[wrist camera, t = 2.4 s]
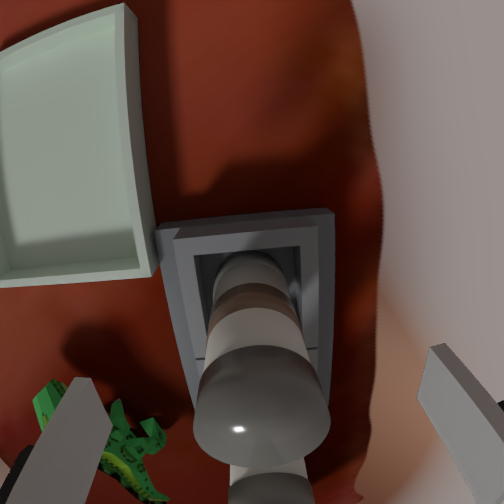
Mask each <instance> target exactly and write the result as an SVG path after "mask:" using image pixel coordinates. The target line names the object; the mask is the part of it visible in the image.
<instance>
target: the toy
mask: <svg viewBox="0 0 504 504" xmlns="http://www.w3.org/2000/svg"><path fill="white" fill-rule="evenodd" d="M67 389H68V388H67V387H66V385H65V384H64V383H62V382H58V381H55V379H54V378H53V379H52V380H51V381H50V382H49V383H48V384H47V385H46V386H45V387H44V388H43V389H42V390H41V391H40V392H39V393H38V394H37V395H36V396H35V398H34V399H33V404H34V407H35V411H36V414H37V418H38V421H39V424H40V427H41V430H42V432H43V430H44V428H45V427H46V425H47V423H48V421H49V420H50V418H51V416H52V414H53V413H54V411H55V409H56V408H57V406H58V404H59V403H60V401H61V399H62V397H63V396H64V394H65V393H66V391H67ZM110 421H111V422H112V423H113V424H112V425H113V427H112V430H111V432H110V435H109V437H108V440H107V443H106V445H105V448H104V451H103V453H102V456H101V459H100V461H99V464H98V467H97V469H99V470H101V471H102V472H104V473H106V474H108V475H109V476H111V477H113V478H115V479H116V480H117V481H118V482H119V483H120V484H121V485H122V486H123V487H124V488H125V489H126V490H127V491H128V492H130V493H131V494H133V493H134V494H133V496H134V497H136V498H137V499H139V500H140V501H142V502H143V503H145V504H149V501H150V503H151V504H166V501H168V500H171V499H169V498H168V497H167V496H165V495H163V494H161V493H159V492H157V491H156V490H155V488H154V486H153V484H152V482H151V480H150V478H149V476H148V474H147V471H146V469H145V467H144V464H143V462H142V457H143V456H144V455H145V454H146V453H149V454H155V453H157V452H158V451H159V450H160V449H161V448H163V447H164V446H165V443H166V434H165V433H164V432H163V430H162V429H161V427H160V426H159V425H158V423H157V422H156V420H155V419H154V418H153V417H152V418H149V419H147V420H144V421H141V422H139V423H140V424H141V426H142V427H143V428H144V430H145V431H146V433H147V434H148V435H149V437H150V438H145V437H142V438H137V437H136V436H135V435H134V434H133V433H132V431H130V426H129V425H128V422H127V420H126V418H125V414H124V410H123V406H122V401H121V400H120V399H117V400H116V401H115V402H114V403H112V406H111V412H110ZM134 491H135V492H134Z"/></svg>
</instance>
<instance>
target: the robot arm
mask: <svg viewBox="0 0 504 504" xmlns="http://www.w3.org/2000/svg"><path fill="white" fill-rule="evenodd" d="M417 400H418V401H419V403H420V404H421V406H422V408H423V409H424V411H425V413H426V414H427V416H428V417H429V419H430V421H431V423H432V424H433V426H434V428H435V429H436V431H437V433H438V434H439V436H440V438H441V439H442V441H443V442H444V445H445V446H446V448H447V450H448V451H449V453H450V455H451V457H452V458H453V460H454V462H455V464H456V466H457V467H458V469H459V471H460V473H461V475H462V476H463V478H464V480H465V482H466V484H467V486H468V487H469V489H470V491H471V493H472V495H473V497H474V499H475V501H476V503H477V504H500V503H501V502H502V501H503V500H504V401H501V402H498V403H496V402H495V401H494V399H493V398H492V397H491V396H490V394H489V393H488V392H487V391H486V390H485V389H484V387H483V386H482V385H481V384H480V382H479V381H478V380H477V379H476V378H475V377H474V375H473V374H472V373H471V372H470V371H469V370H468V369H467V367H466V366H464V364H463V363H462V362H461V361H460V359H459V358H458V357H457V356H456V355H455V354H454V353H453V352H452V350H451V349H450V348H449V347H448V346H447V345H446V344H445V343H443V344H440V345H436V346H432V347H429V351H428V356H427V360H426V364H425V368H424V372H423V376H422V380H421V383H420V387H419V391H418V394H417ZM112 427H113V425H112V423H111V421H110V419H109V417H108V415H107V413H106V411H105V408H104V406H103V404H102V402H101V400H100V398H99V396H98V394H97V391H96V389H95V387H94V385H93V382H92V380H91V378H81V377H75V378H74V379H73V381H72V383H71V384H70V386H69V388H68V389H67V391H66V393H65V394H64V396H63V397H62V399H61V401H60V403H59V404H58V406H57V408H56V409H55V411H54V413H53V414H52V416H51V418H50V420H49V421H48V423H47V425H46V427H45V428H44V430H43V432H42V434H41V436H40V437H39V439H38V441H37V443H36V445H35V446H33V445H28V446H27V447H26V448H24V449H23V450H22V451H21V452H20V453H19V455H18V457H17V459H16V460H15V462H14V465H13V466H12V468H11V470H10V473H9V474H8V476H7V477H6V479H5V481H4V483H3V485H2V487H1V489H0V504H85V501H86V499H87V496H88V493H89V490H90V487H91V484H92V481H93V478H94V475H95V473H96V470H97V467H98V464H99V461H100V459H101V456H102V453H103V451H104V448H105V445H106V443H107V440H108V437H109V435H110V432H111V430H112Z"/></svg>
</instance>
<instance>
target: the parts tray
mask: <svg viewBox="0 0 504 504" xmlns="http://www.w3.org/2000/svg"><path fill="white" fill-rule="evenodd" d="M155 229H156V222H155V215H154V209H153V202H152V195H151V187H150V180H149V172H148V164H147V155H146V146H145V136H144V126H143V114H142V102H141V88H140V70H139V47H138V18H137V17H136V16H135V14H134V13H133V12H132V11H131V10H130V9H129V7H128V6H127V5H126V4H125V3H121V4H117V5H114V6H110V7H107V8H104V9H101V10H97V11H94V12H91V13H88V14H85V15H83V16H80V17H77V18H74V19H72V20H69V21H66V22H64V23H61V24H59V25H56V26H54V27H51V28H49V29H47V30H44V31H42V32H40V33H38V34H35V35H33V36H31V37H29V38H27V39H25V40H23V41H21V42H19V43H17V44H15V45H13V46H11V47H9V48H7V49H5V50H3V51H1V52H0V288H5V287H21V286H36V285H51V284H65V283H79V282H92V281H105V280H118V279H131V278H143V277H152V275H153V274H154V272H155V270H156V269H157V267H158V266H159V264H160V261H159V256H158V250H157V244H156V239H155V233H154V230H155Z"/></svg>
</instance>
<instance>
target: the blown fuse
mask: <svg viewBox="0 0 504 504" xmlns="http://www.w3.org/2000/svg"><path fill="white" fill-rule="evenodd" d="M330 425H331V419H330V414H329V411H328V407H327V404H326V401H325V398H324V395H323V391H322V388H321V385H320V382H319V379H318V376H317V373H316V371H315V369H314V368H313V366H312V365H311V363H310V359H309V356H308V353H307V350H306V347H305V343H304V337H303V333H302V330H301V327H300V324H299V321H298V318H297V315H296V312H295V309H294V306H293V304H292V302H291V300H290V296H289V288H288V285H287V282H286V279H285V276H284V273H283V270H282V268H281V266H280V265H279V263H278V262H277V261H276V260H275V259H274V258H273V257H271V256H270V255H268V254H266V253H264V252H261V251H257V250H246V251H240V252H237V253H234V254H232V255H231V256H229V257H228V258H226V259H225V260H224V261H223V262H222V264H221V265H220V267H219V268H218V270H217V273H216V277H215V283H214V289H213V307H212V310H211V315H210V320H209V327H208V334H207V341H206V356H205V364H204V371H203V374H202V376H201V379H200V382H199V387H198V395H197V402H196V409H195V417H194V424H193V432H194V436H195V439H196V441H197V443H198V444H199V446H200V447H201V448H202V449H203V450H204V451H205V452H206V453H208V454H209V455H210V456H212V457H214V458H215V459H217V460H219V461H221V462H224V463H227V464H230V465H234V466H239V467H246V468H268V467H275V466H280V465H284V464H288V463H291V462H293V461H296V460H298V459H300V458H303V457H304V456H306V455H308V454H309V453H311V452H312V451H313V450H315V449H316V448H317V447H318V446H319V445H320V444H321V443H322V442H323V441H324V439H325V438H326V436H327V434H328V432H329V429H330Z"/></svg>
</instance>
